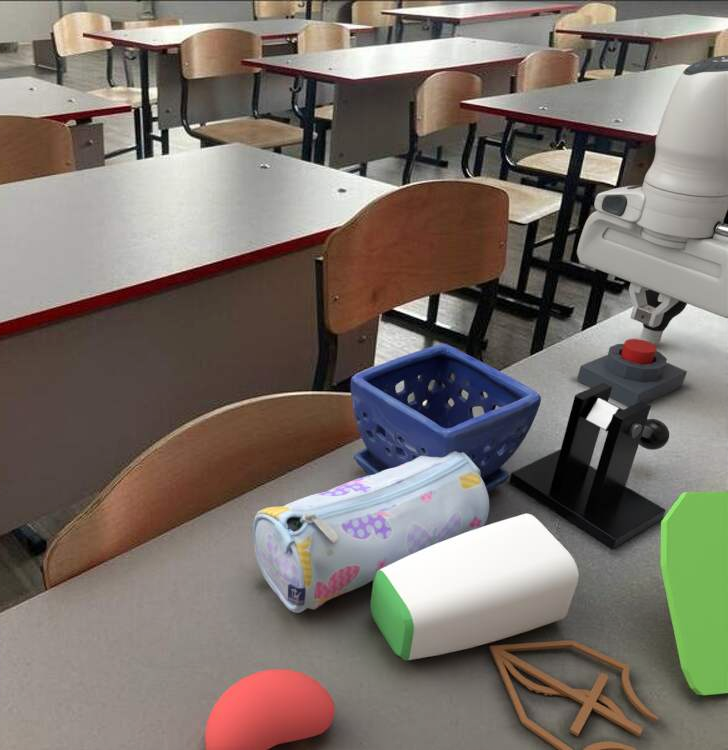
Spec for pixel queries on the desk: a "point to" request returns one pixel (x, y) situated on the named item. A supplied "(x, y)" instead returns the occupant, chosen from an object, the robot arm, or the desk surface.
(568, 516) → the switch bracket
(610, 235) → the robot arm
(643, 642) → the desk surface
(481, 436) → the flower pot
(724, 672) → the green stand with toy
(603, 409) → the switch lever
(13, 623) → the desk surface
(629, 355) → the button
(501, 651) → the emblem
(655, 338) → the light bulb
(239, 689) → the stress ball
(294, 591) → the pencil case
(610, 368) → the control box
